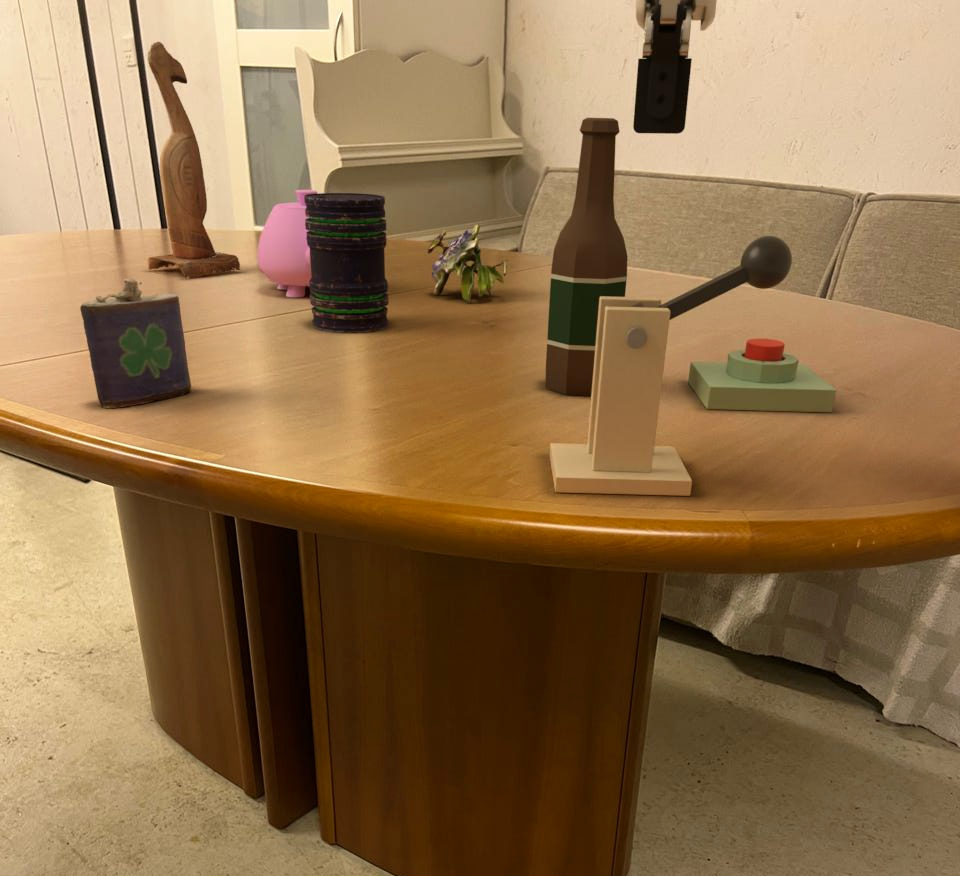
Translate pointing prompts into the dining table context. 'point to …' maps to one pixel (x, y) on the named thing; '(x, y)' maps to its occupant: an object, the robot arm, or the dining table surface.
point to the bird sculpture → (183, 181)
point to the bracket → (624, 409)
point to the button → (764, 350)
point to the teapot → (286, 247)
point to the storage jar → (347, 261)
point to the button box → (760, 385)
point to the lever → (739, 275)
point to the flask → (136, 347)
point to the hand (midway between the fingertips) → (658, 131)
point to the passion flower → (464, 264)
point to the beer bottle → (585, 264)
